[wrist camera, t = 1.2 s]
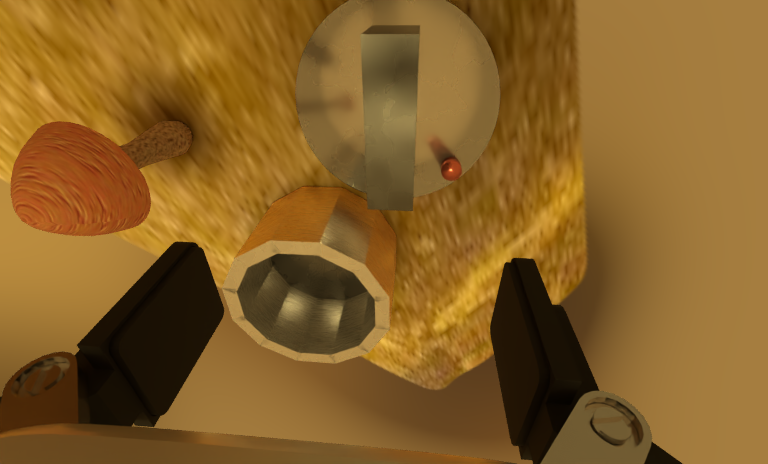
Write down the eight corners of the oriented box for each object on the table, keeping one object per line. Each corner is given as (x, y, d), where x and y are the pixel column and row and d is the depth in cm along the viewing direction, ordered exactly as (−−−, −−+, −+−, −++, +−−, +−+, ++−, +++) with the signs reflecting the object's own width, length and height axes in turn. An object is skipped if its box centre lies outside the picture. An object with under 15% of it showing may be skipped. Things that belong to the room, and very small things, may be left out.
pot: (250, 184, 35) (204, 237, 28) (396, 188, 34) (389, 245, 27) (276, 292, 43) (245, 356, 36) (395, 299, 42) (389, 367, 35)
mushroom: (113, 123, 33) (-74, 206, 21) (159, 64, 30) (-29, 120, 17) (186, 187, 36) (63, 293, 24) (236, 140, 33) (122, 233, 21)
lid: (292, -12, 26) (245, -11, 19) (510, -15, 25) (543, -15, 18) (316, 182, 35) (289, 230, 28) (480, 187, 34) (494, 239, 27)
